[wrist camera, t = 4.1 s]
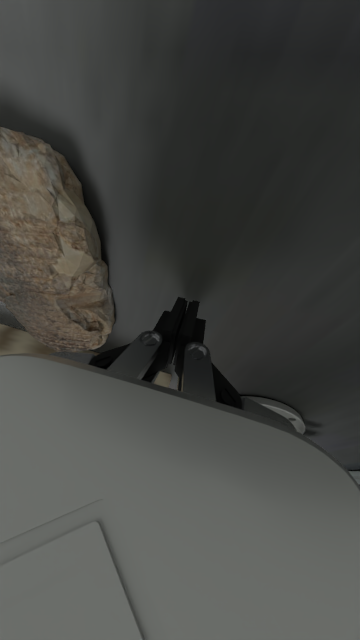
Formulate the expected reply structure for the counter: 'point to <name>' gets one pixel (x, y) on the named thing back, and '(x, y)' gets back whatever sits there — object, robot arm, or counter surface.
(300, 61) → the counter surface
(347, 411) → the counter surface
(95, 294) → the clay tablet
